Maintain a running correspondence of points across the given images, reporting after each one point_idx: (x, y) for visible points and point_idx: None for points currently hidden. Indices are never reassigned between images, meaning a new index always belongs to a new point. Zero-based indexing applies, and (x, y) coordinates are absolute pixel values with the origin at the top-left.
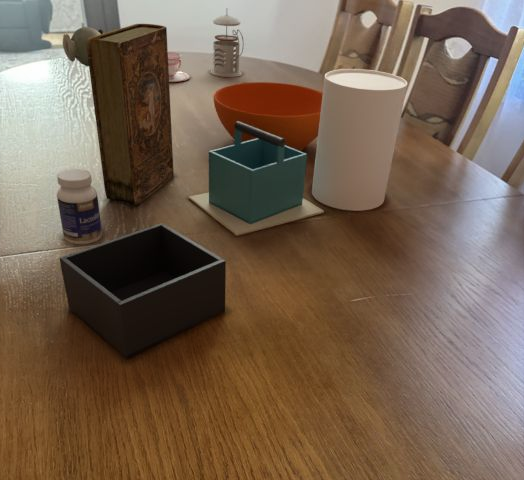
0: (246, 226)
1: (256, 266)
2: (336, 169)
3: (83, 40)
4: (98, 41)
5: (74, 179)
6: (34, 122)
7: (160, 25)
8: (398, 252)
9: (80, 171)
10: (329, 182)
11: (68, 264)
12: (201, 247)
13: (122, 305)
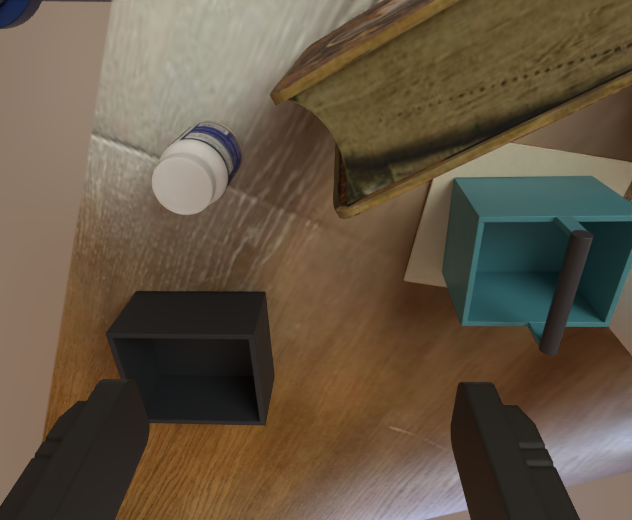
0: (432, 274)
1: (364, 341)
2: (630, 337)
3: None
4: (314, 114)
5: (174, 209)
6: None
7: None
8: (521, 409)
9: (197, 181)
10: (617, 312)
11: (111, 350)
12: (259, 397)
13: None
